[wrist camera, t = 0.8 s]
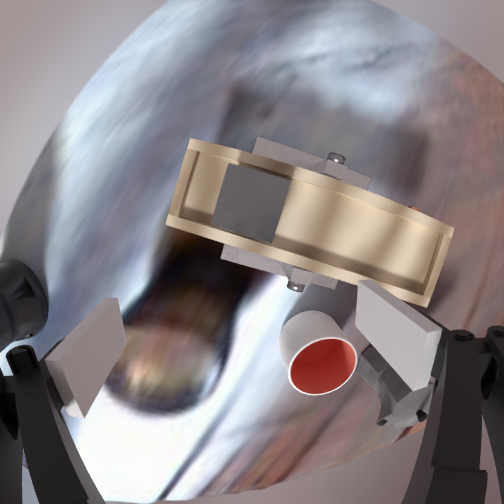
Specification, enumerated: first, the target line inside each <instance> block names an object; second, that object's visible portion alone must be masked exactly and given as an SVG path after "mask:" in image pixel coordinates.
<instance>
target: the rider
mask: <svg viewBox="0 0 504 504" xmlns="http://www.w3.org/2000/svg"><path fill="white" fill-rule="evenodd" d="M290 184H291V181H290V180H287V179H284V178H280V177H277V176H274V175H270V174H267V173H264V172H260V171H257V170H253V169H250V168H246V167H242V166H239V165H235V164H231V163H228V166H227V169H226V173H225V176H224V179H223V183H222V186H221V189H220V193H219V196H218V199H217V203H216V206H215V210H214V213H213V217H212V220H211V225H214V226H218V227H221V228H224V229H227V230H230V231H234V232H237V233H240V234H243V235H246V236H250V237H253V238H256V239H259V240H262V241H265V242H269V243H272V242H273V239H274V236H275V232H276V229H277V226H278V223H279V220H280V216H281V213H282V210H283V207H284V203H285V200H286V197H287V194H288V190H289V187H290Z"/></svg>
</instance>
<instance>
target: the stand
mask: <svg viewBox="0 0 504 504" xmlns="http://www.w3.org/2000/svg"><path fill="white" fill-rule="evenodd" d="M252 153H253V154H256V155H260V156H264V157H267V158H271V159H274V160H277V161H281V162H284V163H287V164H291V165H294V166H297V167H300V168H303V169H307V170H310V171H313V172H316V173H319V174H322V175H325V176H328V177H331V178H333V179H336V180H339V181H342V182H345V183H348V184H350V185H353V186H356V187H358V188H361V189H364V190H366V191H368V187H369V184H370V180H371V178H370V177H367V176H365V175H363V174H360V173H358V172H355V171H353V170H351V169H348V168H347V166H344V161H345V157H344V156H342V155H339V154H336V153H329V154H328V157H327V160H325V159H323V158H320V157H317V156H315V155H312V154H309V153H306V152H303V151H301V150H298V149H295V148H292V147H289V146H286V145H283V144H280V143H277V142H274V141H271V140H268V139H264V138H261V137H258V136H257V139H256V142H255V145H254V148H253V151H252ZM221 259H224V260H228V261H231V262H235V263H239V264H242V265H246V266H249V267H253V268H257V269H260V270H264V271H268V272H271V273H275V274H279V275H282V276H286V277H287V278H288V279H289V281H288V284H287V287H288V288H289V289H291V290H293V291H296V292H303V290H304V287H305V285H307V286H309V285H310V283H312V284H316V285H319V286H323V287H327V288H331V289H334V290H335V288H336V285H337V282H338V279H335V278H332V277H329V276H326V275H322V274H319V273H316V272H313V271H310V270H307V269H304V268H300V267H297V266H294V265H291V264H288V263H285V262H282V261H278V260H275V259H272V258H269V257H266V256H263V255H260V254H256V253H253V252H250V251H247V250H244V249H241V248H238V247H234V246H231V245H228V244H224V248H223V251H222V255H221Z"/></svg>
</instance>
